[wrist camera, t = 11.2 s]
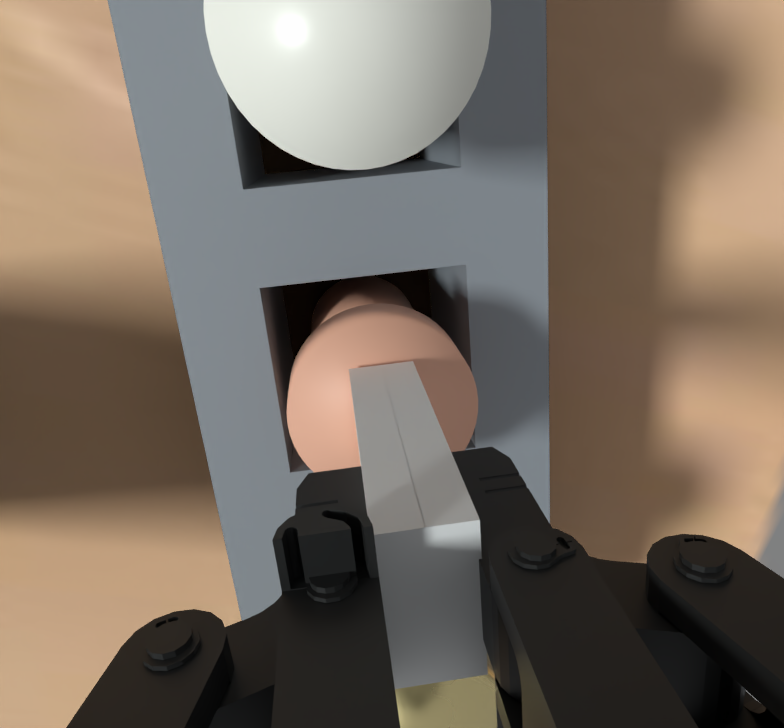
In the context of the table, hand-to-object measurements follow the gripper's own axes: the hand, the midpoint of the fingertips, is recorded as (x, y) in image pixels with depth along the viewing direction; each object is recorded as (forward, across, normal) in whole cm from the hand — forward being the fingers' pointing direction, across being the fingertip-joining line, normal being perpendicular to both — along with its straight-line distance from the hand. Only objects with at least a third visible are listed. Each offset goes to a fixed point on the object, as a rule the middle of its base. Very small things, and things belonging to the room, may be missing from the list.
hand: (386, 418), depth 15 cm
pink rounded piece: (+8, 0, 0) cm, 8 cm away
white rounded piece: (+5, 0, +8) cm, 10 cm away
